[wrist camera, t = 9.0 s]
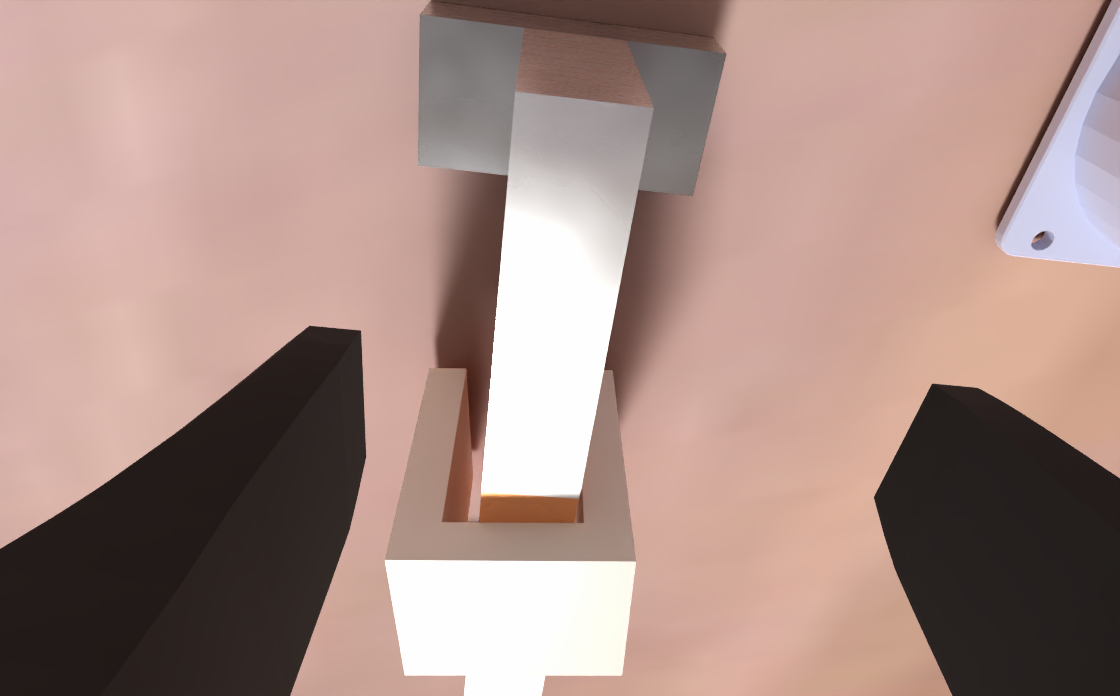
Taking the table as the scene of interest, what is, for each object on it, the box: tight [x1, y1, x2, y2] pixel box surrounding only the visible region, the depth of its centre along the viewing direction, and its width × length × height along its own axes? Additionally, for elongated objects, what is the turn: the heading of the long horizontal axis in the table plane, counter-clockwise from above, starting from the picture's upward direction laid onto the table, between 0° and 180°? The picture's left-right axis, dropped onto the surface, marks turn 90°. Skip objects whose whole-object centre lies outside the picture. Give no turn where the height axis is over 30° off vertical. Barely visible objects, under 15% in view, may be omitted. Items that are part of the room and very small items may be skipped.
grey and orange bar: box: [418, 1, 726, 696], centre depth 18 cm, size 6×20×6 cm, turn 173°
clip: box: [385, 368, 636, 676], centre depth 18 cm, size 5×4×6 cm
